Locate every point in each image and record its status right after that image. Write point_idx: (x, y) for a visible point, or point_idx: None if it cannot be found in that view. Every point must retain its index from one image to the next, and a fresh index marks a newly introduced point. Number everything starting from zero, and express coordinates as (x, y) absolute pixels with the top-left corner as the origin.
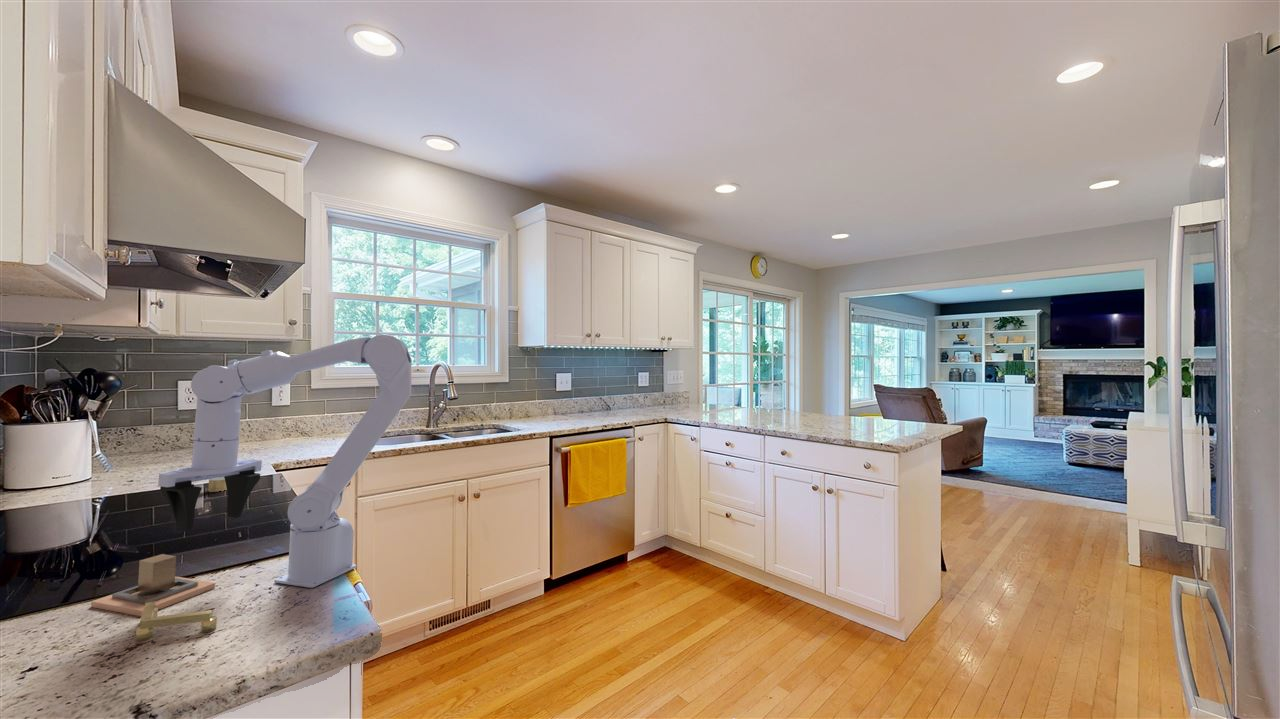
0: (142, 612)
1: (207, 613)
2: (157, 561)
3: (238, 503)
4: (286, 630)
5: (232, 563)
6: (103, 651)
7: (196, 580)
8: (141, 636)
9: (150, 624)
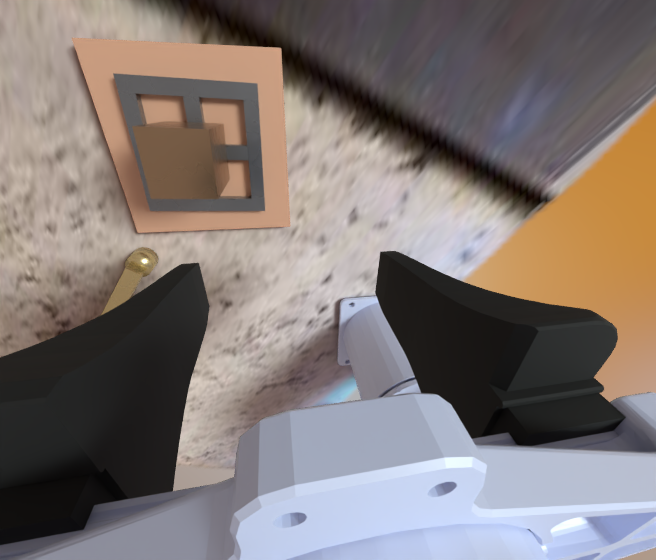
0: (125, 264)
1: None
2: (165, 193)
3: (397, 328)
4: (233, 422)
5: (418, 104)
6: (57, 307)
7: (284, 171)
8: None
9: None
